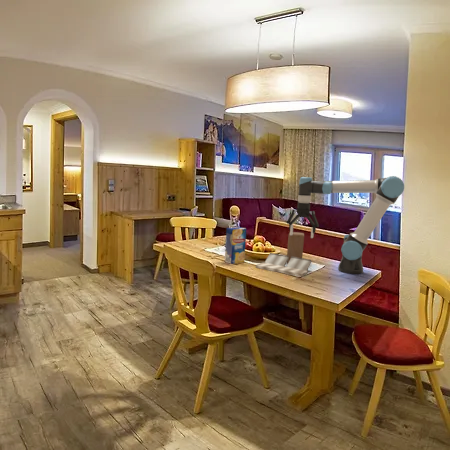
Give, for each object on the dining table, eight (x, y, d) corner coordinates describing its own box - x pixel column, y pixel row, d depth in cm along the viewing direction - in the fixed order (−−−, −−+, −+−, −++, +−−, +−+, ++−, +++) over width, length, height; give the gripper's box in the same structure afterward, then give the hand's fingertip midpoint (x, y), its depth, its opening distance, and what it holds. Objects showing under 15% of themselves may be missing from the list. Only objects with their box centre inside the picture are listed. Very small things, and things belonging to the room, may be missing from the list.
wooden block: (301, 265, 262) (304, 235, 259) (286, 263, 264) (288, 233, 261) (301, 261, 272) (304, 232, 269) (287, 260, 274) (289, 231, 271)
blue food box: (244, 262, 261) (246, 228, 258) (231, 263, 254) (233, 229, 251) (237, 259, 266) (239, 227, 263) (224, 261, 260) (226, 227, 257)
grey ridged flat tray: (307, 273, 241) (307, 270, 241) (301, 276, 233) (301, 273, 233) (262, 264, 257) (262, 262, 256) (255, 267, 248) (255, 265, 248)
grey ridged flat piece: (288, 258, 256) (288, 255, 255) (283, 267, 250) (283, 265, 249) (270, 254, 263) (269, 252, 262) (264, 264, 257) (264, 262, 256)
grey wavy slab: (311, 261, 248) (311, 259, 247) (306, 272, 243) (306, 270, 242) (291, 258, 255) (291, 256, 254) (286, 268, 249) (286, 266, 248)
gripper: (325, 203, 243) (323, 238, 245) (287, 200, 255) (285, 233, 258) (321, 204, 236) (319, 239, 239) (282, 201, 249) (280, 234, 252)
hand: (301, 236), depth 249 cm, fingers open, 13 cm apart
